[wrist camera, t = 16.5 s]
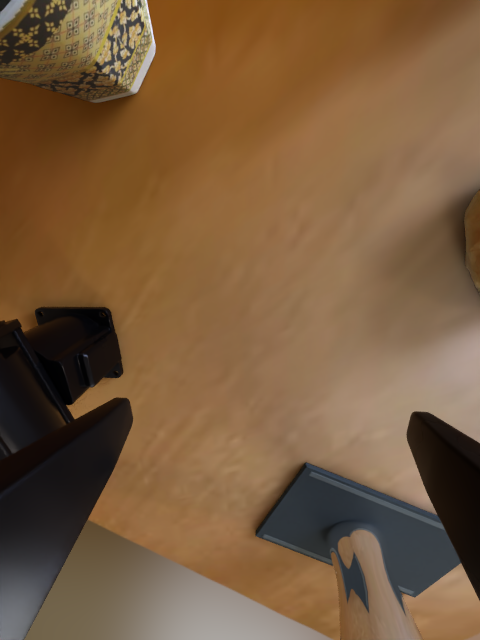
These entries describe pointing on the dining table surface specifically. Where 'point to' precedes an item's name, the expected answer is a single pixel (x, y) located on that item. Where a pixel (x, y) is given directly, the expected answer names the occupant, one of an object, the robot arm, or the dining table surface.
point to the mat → (363, 505)
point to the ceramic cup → (77, 46)
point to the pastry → (473, 239)
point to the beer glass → (367, 585)
